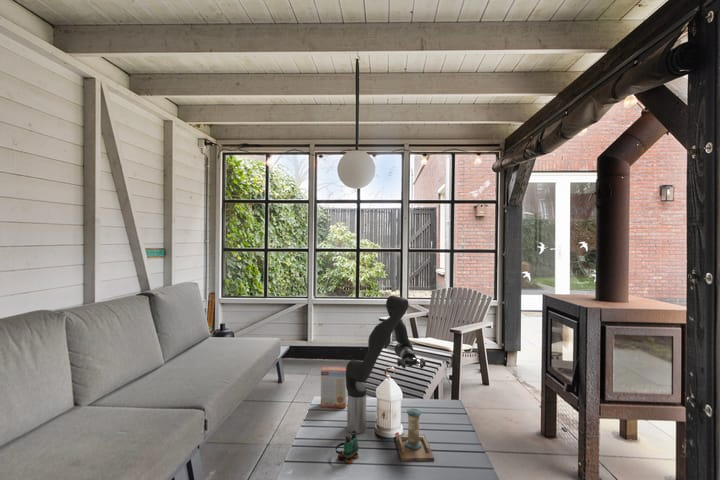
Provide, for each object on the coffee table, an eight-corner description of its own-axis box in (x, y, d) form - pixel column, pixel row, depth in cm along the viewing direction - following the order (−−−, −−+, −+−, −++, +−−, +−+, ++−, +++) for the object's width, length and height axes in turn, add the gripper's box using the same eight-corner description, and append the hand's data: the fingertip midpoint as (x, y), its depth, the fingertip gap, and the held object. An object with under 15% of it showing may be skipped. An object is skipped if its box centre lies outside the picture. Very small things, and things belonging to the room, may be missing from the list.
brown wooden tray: (401, 460, 164) (401, 454, 164) (395, 437, 184) (395, 431, 184) (434, 460, 165) (434, 454, 165) (424, 437, 185) (424, 431, 185)
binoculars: (341, 427, 173) (361, 430, 168) (343, 451, 173) (362, 456, 168) (329, 435, 166) (349, 439, 161) (331, 461, 165) (351, 465, 160)
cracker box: (346, 404, 222) (347, 367, 222) (345, 408, 216) (345, 370, 216) (322, 402, 223) (322, 366, 223) (320, 407, 217) (320, 369, 217)
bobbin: (406, 449, 171) (407, 414, 171) (404, 441, 178) (404, 408, 178) (422, 449, 171) (423, 414, 172) (419, 441, 178) (420, 408, 179)
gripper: (395, 350, 211) (399, 359, 195) (421, 350, 212) (427, 359, 195) (394, 364, 211) (399, 374, 195) (421, 364, 212) (427, 374, 195)
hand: (413, 366), depth 195 cm, fingers open, 8 cm apart
